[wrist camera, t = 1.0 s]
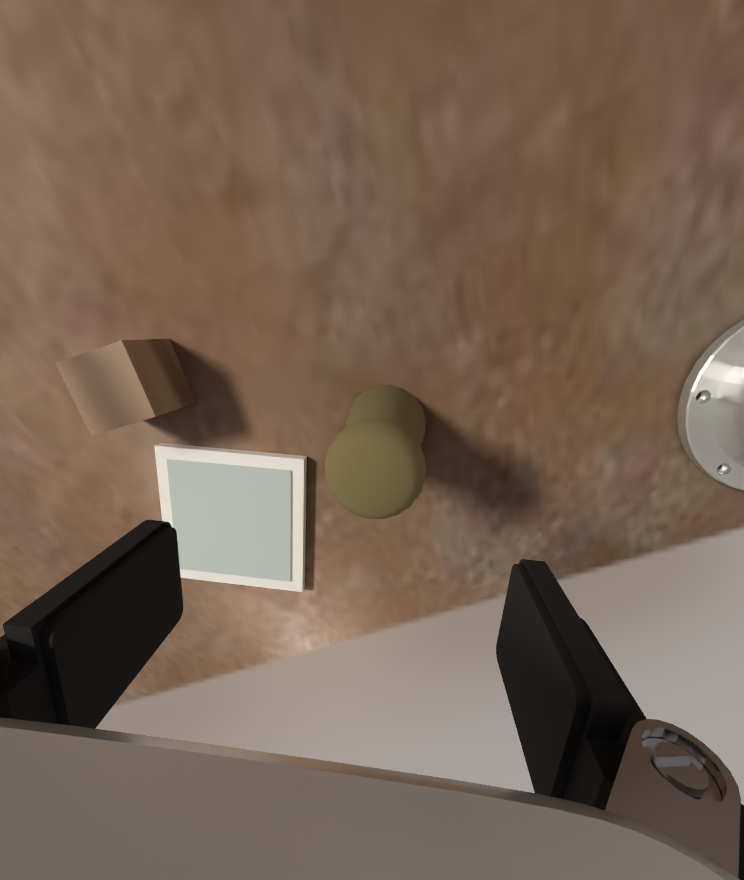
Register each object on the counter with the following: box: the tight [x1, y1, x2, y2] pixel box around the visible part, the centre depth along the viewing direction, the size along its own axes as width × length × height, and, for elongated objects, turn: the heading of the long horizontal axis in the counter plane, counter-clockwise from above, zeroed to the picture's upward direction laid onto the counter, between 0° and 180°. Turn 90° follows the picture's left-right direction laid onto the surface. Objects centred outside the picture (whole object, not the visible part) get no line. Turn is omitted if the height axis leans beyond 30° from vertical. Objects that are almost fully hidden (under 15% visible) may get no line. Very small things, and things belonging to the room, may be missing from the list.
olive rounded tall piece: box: [325, 385, 426, 519], centre depth 23 cm, size 6×6×11 cm
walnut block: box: [56, 339, 196, 436], centre depth 27 cm, size 5×5×5 cm
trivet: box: [155, 443, 307, 592], centre depth 31 cm, size 12×12×1 cm
